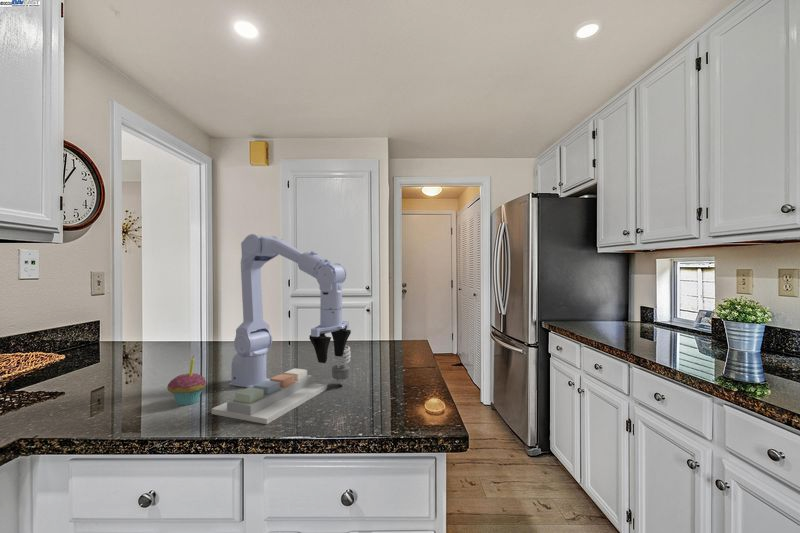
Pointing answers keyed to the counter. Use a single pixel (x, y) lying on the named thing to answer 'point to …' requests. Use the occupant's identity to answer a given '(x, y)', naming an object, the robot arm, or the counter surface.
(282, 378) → the key terracotta
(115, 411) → the counter surface
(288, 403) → the keypad
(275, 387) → the key slate
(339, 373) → the light bulb
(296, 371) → the key ivory
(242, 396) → the key sage
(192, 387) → the cupcake
